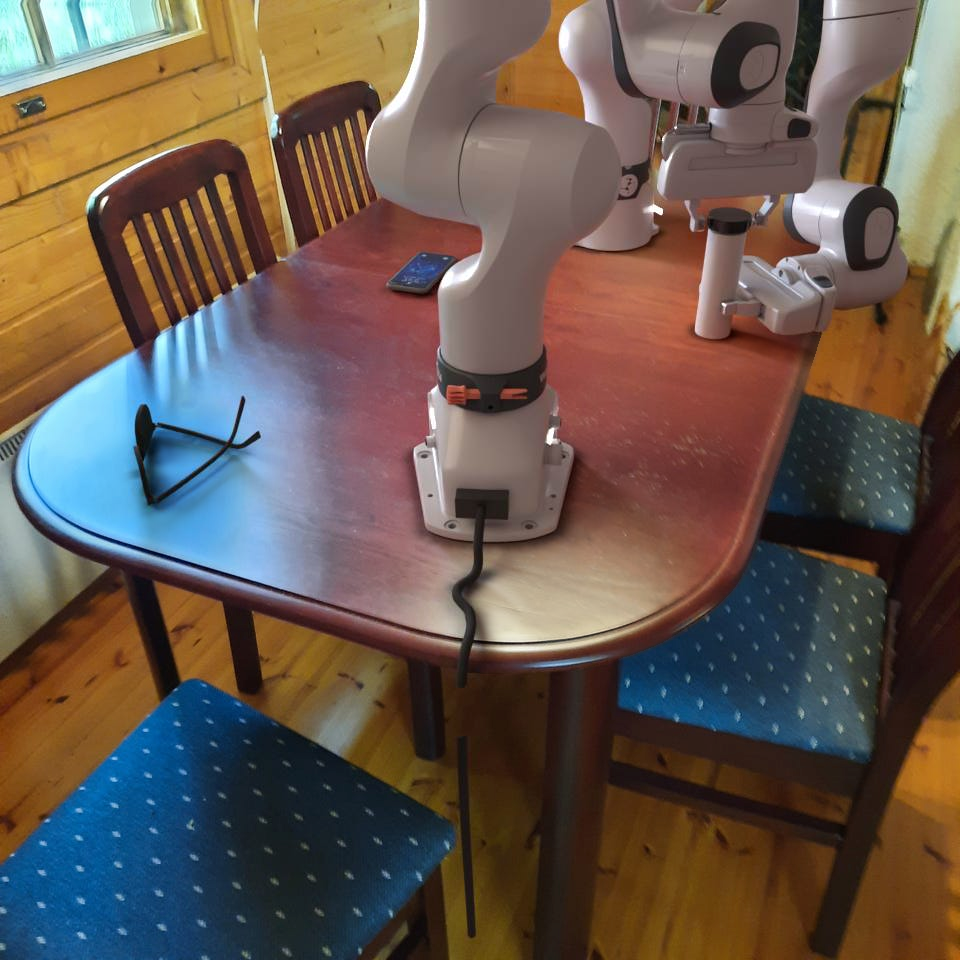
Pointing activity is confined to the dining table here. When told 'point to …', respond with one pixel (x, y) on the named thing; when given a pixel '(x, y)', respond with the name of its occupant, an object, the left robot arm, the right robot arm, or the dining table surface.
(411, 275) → the smartphone
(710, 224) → the lid
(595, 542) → the dining table surface
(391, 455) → the dining table surface
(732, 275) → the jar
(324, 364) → the dining table surface
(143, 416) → the sunglasses
